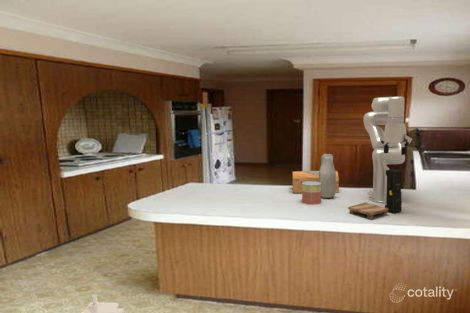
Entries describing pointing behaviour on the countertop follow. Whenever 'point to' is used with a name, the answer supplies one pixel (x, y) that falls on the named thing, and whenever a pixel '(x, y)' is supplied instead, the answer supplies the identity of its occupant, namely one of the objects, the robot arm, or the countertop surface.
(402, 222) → the countertop surface
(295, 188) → the wooden box
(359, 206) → the stand
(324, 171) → the grey bottle
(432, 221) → the countertop surface
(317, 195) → the canned food
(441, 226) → the countertop surface
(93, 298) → the bracket
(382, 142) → the robot arm
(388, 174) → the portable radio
